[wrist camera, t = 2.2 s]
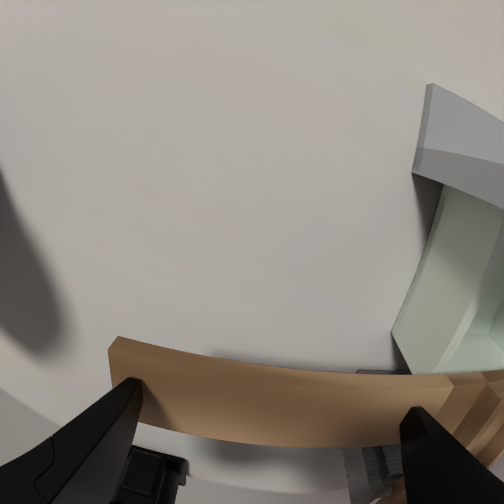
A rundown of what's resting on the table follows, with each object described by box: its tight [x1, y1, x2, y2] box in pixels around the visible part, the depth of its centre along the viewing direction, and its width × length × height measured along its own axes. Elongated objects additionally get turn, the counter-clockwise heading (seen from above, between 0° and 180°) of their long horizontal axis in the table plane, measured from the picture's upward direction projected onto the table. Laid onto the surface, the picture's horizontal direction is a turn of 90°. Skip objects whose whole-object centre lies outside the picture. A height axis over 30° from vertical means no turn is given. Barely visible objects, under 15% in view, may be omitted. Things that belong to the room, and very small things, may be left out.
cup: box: [391, 184, 504, 375], centre depth 11 cm, size 8×8×4 cm
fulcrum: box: [342, 370, 412, 504], centre depth 14 cm, size 8×10×7 cm
